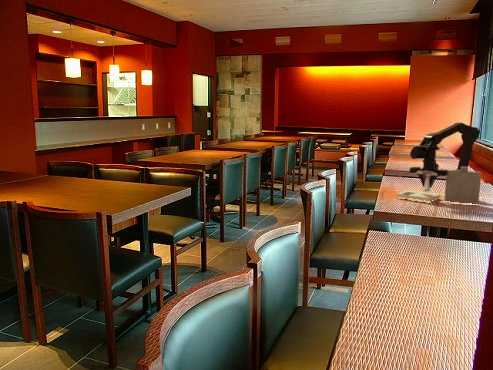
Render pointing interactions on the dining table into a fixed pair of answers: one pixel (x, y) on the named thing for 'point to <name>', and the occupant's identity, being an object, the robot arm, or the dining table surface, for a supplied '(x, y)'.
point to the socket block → (419, 195)
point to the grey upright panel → (462, 186)
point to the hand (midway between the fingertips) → (427, 187)
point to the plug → (427, 183)
